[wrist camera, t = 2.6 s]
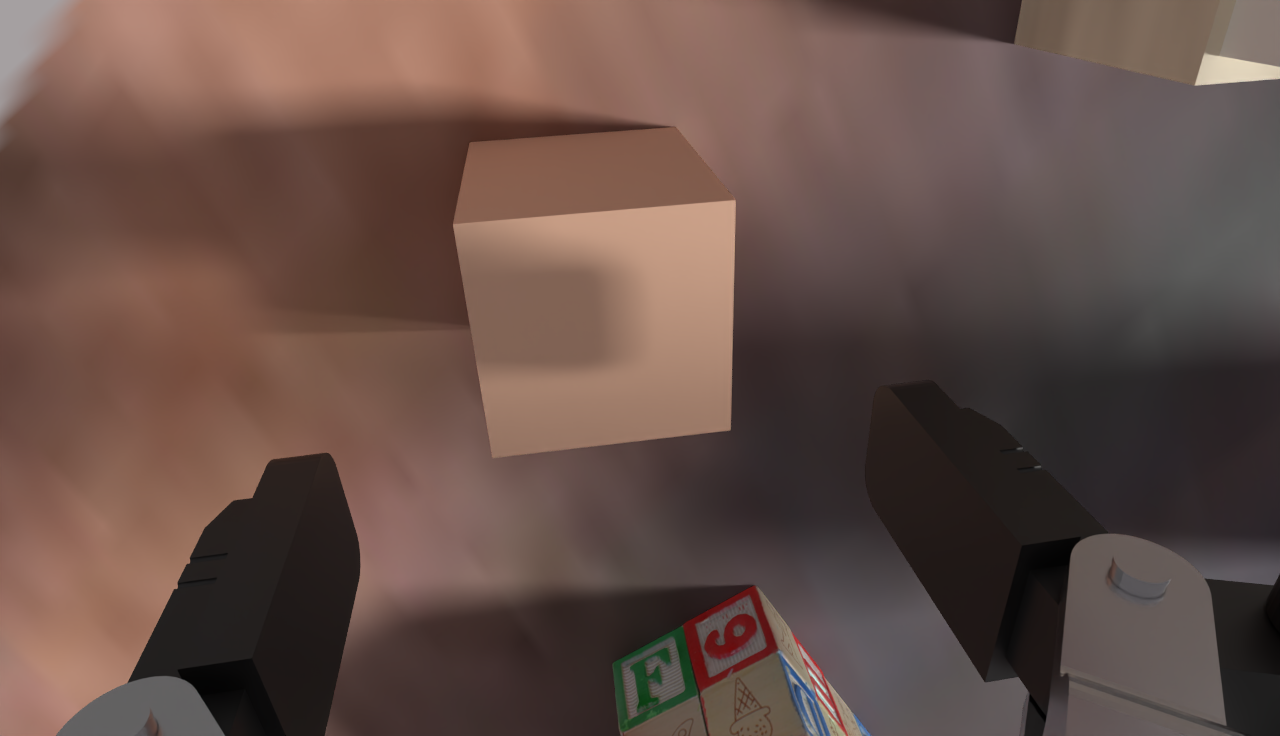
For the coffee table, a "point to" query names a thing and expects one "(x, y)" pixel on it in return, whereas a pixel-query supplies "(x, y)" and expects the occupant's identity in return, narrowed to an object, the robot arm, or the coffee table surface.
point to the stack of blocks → (729, 679)
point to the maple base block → (1141, 37)
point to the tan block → (597, 288)
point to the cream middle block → (1254, 32)
